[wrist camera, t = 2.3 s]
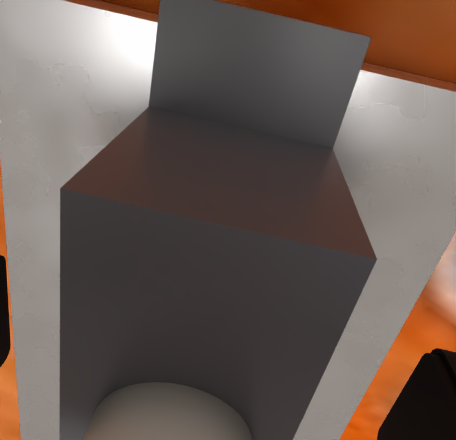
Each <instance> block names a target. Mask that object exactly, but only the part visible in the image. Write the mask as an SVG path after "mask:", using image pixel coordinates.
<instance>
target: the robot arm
mask: <svg viewBox="0 0 456 440" xmlns="http://www.w3.org/2000/svg"><path fill="white" fill-rule="evenodd" d="M9 351H10V327H9V310H8V292H7V274H6V260H5V258H4V256H1V255H0V367H1V366H2V364H3V363H4V362H5V360H6V358H7V356H8V354H9ZM377 440H456V352H451V351H447V350H443V349H434V350H432V352H431V353H426V354H424V355H423V356H422V358H421V359H420V361H419V363H418V364H417V366H416V368H415V370H414V371H413V373H412V375H411V376H410V378H409V380H408V381H407V383H406V385H405V386H404V388H403V390H402V391H401V393H400V395H399V397H398V398H397V400H396V402H395V403H394V405H393V407H392V408H391V410H390V412H389V413H388V415H387V417H386V419H385V420H384V422H383V424H382V425H381V427H380V429H379V431H378V437H377Z"/></svg>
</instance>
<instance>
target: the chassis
mask: <svg viewBox="0 0 456 440" xmlns="http://www.w3.org/2000/svg"><path fill="white" fill-rule="evenodd" d="M158 15H159V14H155V13H151V12H147V11H142V10H138V9H134V8H129V7H125V6H121V5H117V4H112V3H108V2H104V1H99V0H0V160H1V174H2V187H3V201H4V214H5V228H6V241H7V255H8V269H9V282H10V296H11V309H12V323H13V337H14V350H15V364H16V377H17V391H18V404H19V418H20V432H21V440H59V424H60V188H61V187H62V186H63V185H64V184H65V183H66V182H68V181H69V180H70V179H71V178H72V177H73V176H74V175H75V174H76V173H77V172H78V171H79V170H81V169H82V168H83V167H84V166H85V165H86V164H87V163H88V162H89V161H90V160H91V159H92V158H94V157H95V156H96V155H97V154H98V153H99V152H100V151H101V150H102V149H103V148H104V147H106V146H107V145H108V144H109V143H110V142H111V141H112V140H113V139H114V138H115V137H116V136H117V135H119V134H120V133H121V132H122V131H123V130H124V129H125V128H126V127H127V126H128V125H129V124H130V123H132V122H133V121H134V120H135V119H136V118H137V117H138V116H139V115H140V114H141V113H142V112H143V111H145V110H146V109H147V108H148V107H149V98H150V89H151V80H152V70H153V61H154V52H155V43H156V33H157V24H158ZM333 151H334V153H335V156H336V158H337V161H338V163H339V166H340V168H341V171H342V173H343V176H344V178H345V181H346V183H347V186H348V188H349V191H350V193H351V196H352V198H353V200H354V203H355V205H356V208H357V210H358V213H359V215H360V218H361V220H362V223H363V225H364V228H365V230H366V233H367V235H368V238H369V240H370V243H371V245H372V248H373V250H374V253H375V255H376V258H377V261H376V263H375V265H374V267H373V269H372V271H371V274H370V276H369V278H368V280H367V282H366V284H365V286H364V289H363V291H362V293H361V295H360V297H359V299H358V301H357V303H356V306H355V308H354V310H353V312H352V314H351V316H350V318H349V321H348V323H347V325H346V327H345V329H344V331H343V333H342V336H341V338H340V340H339V342H338V344H337V346H336V348H335V351H334V353H333V355H332V357H331V359H330V361H329V363H328V366H327V368H326V370H325V372H324V374H323V376H322V378H321V380H320V383H319V385H318V387H317V389H316V391H315V393H314V395H313V398H312V400H311V402H310V404H309V406H308V408H307V410H306V413H305V415H304V417H303V419H302V421H301V423H300V425H299V428H298V430H297V432H296V434H295V436H294V438H293V440H339V439H340V437H341V435H342V433H343V432H344V430H345V428H346V426H347V424H348V423H349V421H350V419H351V417H352V415H353V414H354V412H355V410H356V408H357V407H358V405H359V403H360V401H361V399H362V398H363V396H364V394H365V392H366V390H367V389H368V387H369V385H370V383H371V381H372V380H373V378H374V376H375V374H376V373H377V371H378V369H379V367H380V365H381V364H382V362H383V360H384V358H385V356H386V355H387V353H388V351H389V349H390V348H391V346H392V344H393V342H394V340H395V339H396V337H397V335H398V333H399V331H400V330H401V328H402V326H403V324H404V323H405V321H406V319H407V317H408V315H409V314H410V312H411V310H412V308H413V306H414V305H415V303H416V301H417V299H418V297H419V296H420V294H421V292H422V290H423V289H424V287H425V285H426V283H427V281H428V280H429V278H430V276H431V274H432V272H433V271H434V269H435V267H436V265H437V264H438V262H439V260H440V258H441V256H442V255H443V253H444V251H445V249H446V247H447V246H448V244H449V242H450V240H451V238H452V237H453V235H454V233H455V231H456V84H455V83H451V82H447V81H442V80H438V79H434V78H430V77H425V76H421V75H417V74H412V73H408V72H404V71H400V70H395V69H391V68H387V67H382V66H378V65H374V64H370V63H365V62H363V63H362V66H361V69H360V72H359V75H358V78H357V81H356V84H355V86H354V89H353V92H352V95H351V98H350V101H349V104H348V107H347V110H346V112H345V115H344V118H343V121H342V124H341V127H340V130H339V133H338V136H337V138H336V141H335V144H334V147H333Z"/></svg>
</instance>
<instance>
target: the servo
mask: <svg viewBox="0 0 456 440" xmlns="http://www.w3.org/2000/svg"><path fill="white" fill-rule="evenodd" d="M370 40H371V37H369V36H367V35H364V34H360V33H355V32H351V31H347V30H343V29H338V28H334V27H330V26H325V25H321V24H317V23H313V22H308V21H304V20H300V19H296V18H291V17H287V16H283V15H279V14H274V13H270V12H266V11H262V10H257V9H253V8H249V7H244V6H240V5H236V4H232V3H227V2H223V1H219V0H160V6H159V15H158V24H157V33H156V43H155V52H154V61H153V70H152V80H151V89H150V98H149V107H148V108H147V109H146V110H145V111H143V112H142V113H141V114H140V115H139V116H138V117H137V118H136V119H135V120H134V121H133V122H132V123H130V124H129V125H128V126H127V127H126V128H125V129H124V130H123V131H122V132H121V133H120V134H119V135H117V136H116V137H115V138H114V139H113V140H112V141H111V142H110V143H109V144H108V145H107V146H106V147H104V148H103V149H102V150H101V151H100V152H99V153H98V154H97V155H96V156H95V157H94V158H92V159H91V160H90V161H89V162H88V163H87V164H86V165H85V166H84V167H83V168H82V169H81V170H79V171H78V172H77V173H76V174H75V175H74V176H73V177H72V178H71V179H70V180H69V181H68V182H66V183H65V184H64V185H63V186H62V187H61V188H60V424H59V440H293V438H294V436H295V434H296V432H297V430H298V428H299V425H300V423H301V421H302V419H303V417H304V415H305V413H306V410H307V408H308V406H309V404H310V402H311V400H312V398H313V395H314V393H315V391H316V389H317V387H318V385H319V383H320V380H321V378H322V376H323V374H324V372H325V370H326V368H327V366H328V363H329V361H330V359H331V357H332V355H333V353H334V351H335V348H336V346H337V344H338V342H339V340H340V338H341V336H342V333H343V331H344V329H345V327H346V325H347V323H348V321H349V318H350V316H351V314H352V312H353V310H354V308H355V306H356V303H357V301H358V299H359V297H360V295H361V293H362V291H363V289H364V286H365V284H366V282H367V280H368V278H369V276H370V274H371V271H372V269H373V267H374V265H375V263H376V261H377V258H376V255H375V253H374V250H373V248H372V245H371V243H370V240H369V238H368V235H367V233H366V230H365V228H364V225H363V223H362V220H361V218H360V215H359V213H358V210H357V208H356V205H355V203H354V200H353V198H352V196H351V193H350V191H349V188H348V186H347V183H346V181H345V178H344V176H343V173H342V171H341V168H340V166H339V163H338V161H337V158H336V156H335V153H334V151H333V147H334V144H335V141H336V138H337V136H338V133H339V130H340V127H341V124H342V121H343V118H344V115H345V112H346V110H347V107H348V104H349V101H350V98H351V95H352V92H353V89H354V86H355V84H356V81H357V78H358V75H359V72H360V69H361V66H362V63H363V60H364V58H365V55H366V52H367V49H368V46H369V43H370Z"/></svg>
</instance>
